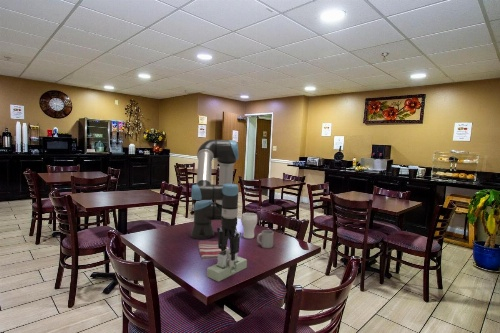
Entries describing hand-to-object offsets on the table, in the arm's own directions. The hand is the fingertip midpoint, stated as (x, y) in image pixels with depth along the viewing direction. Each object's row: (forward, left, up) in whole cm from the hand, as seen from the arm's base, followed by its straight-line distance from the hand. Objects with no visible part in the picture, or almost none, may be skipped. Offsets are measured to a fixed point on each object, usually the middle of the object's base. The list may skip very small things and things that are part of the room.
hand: (227, 265), depth 134 cm
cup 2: (-7, +41, -3) cm, 42 cm away
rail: (0, 0, -3) cm, 3 cm away
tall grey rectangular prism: (0, 0, 0) cm, 0 cm away
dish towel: (-24, +15, -4) cm, 29 cm away
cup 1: (-25, +48, -3) cm, 54 cm away
